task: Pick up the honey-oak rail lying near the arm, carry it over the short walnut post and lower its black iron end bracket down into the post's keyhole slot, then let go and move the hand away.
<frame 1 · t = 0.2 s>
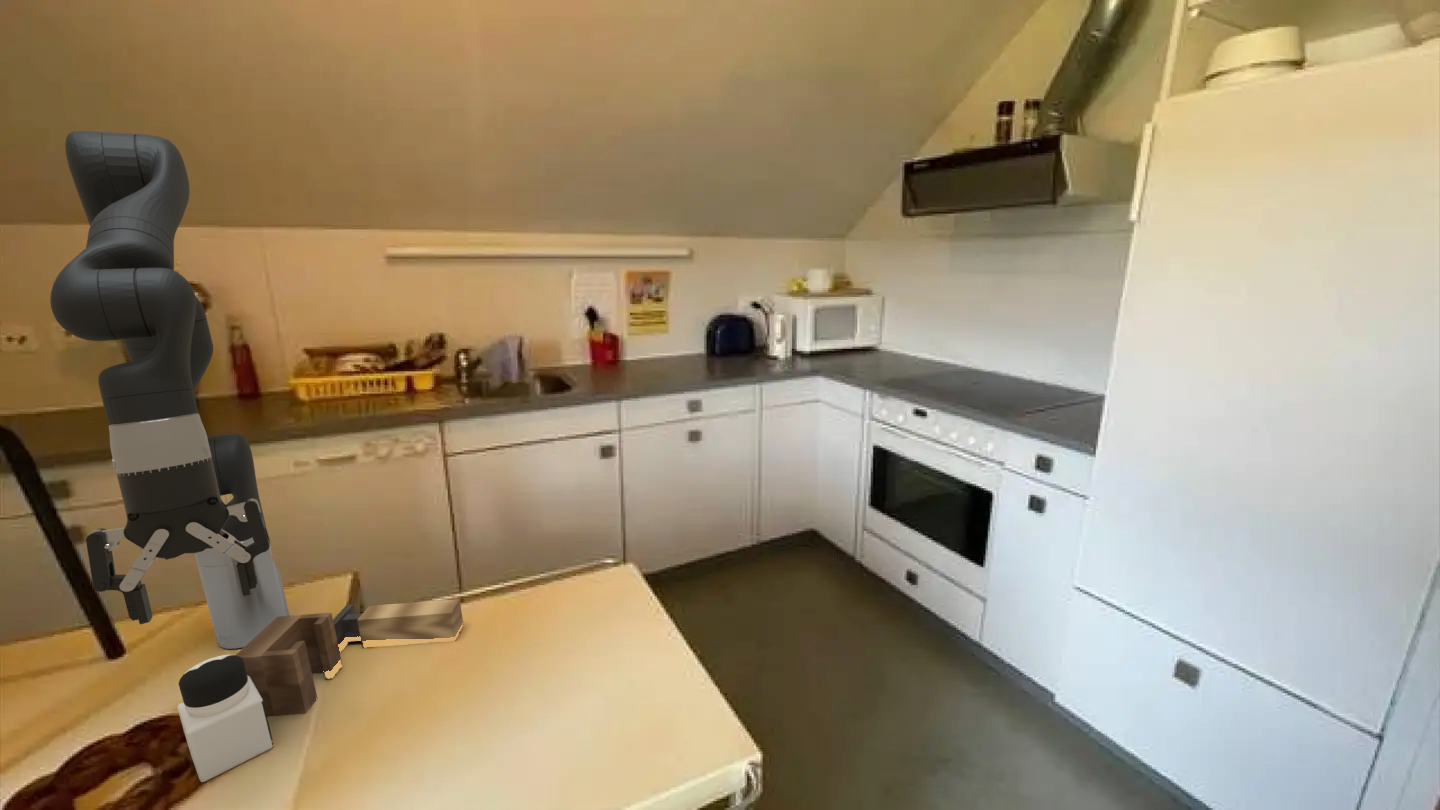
hand: (198, 606, 66), 22 cm above the table, tool pointing down, fingers open, 8 cm apart
medicine bottle: (233, 752, 75), on the table
walnut post: (306, 690, 86), on the table
oak rail: (414, 637, 97), on the table
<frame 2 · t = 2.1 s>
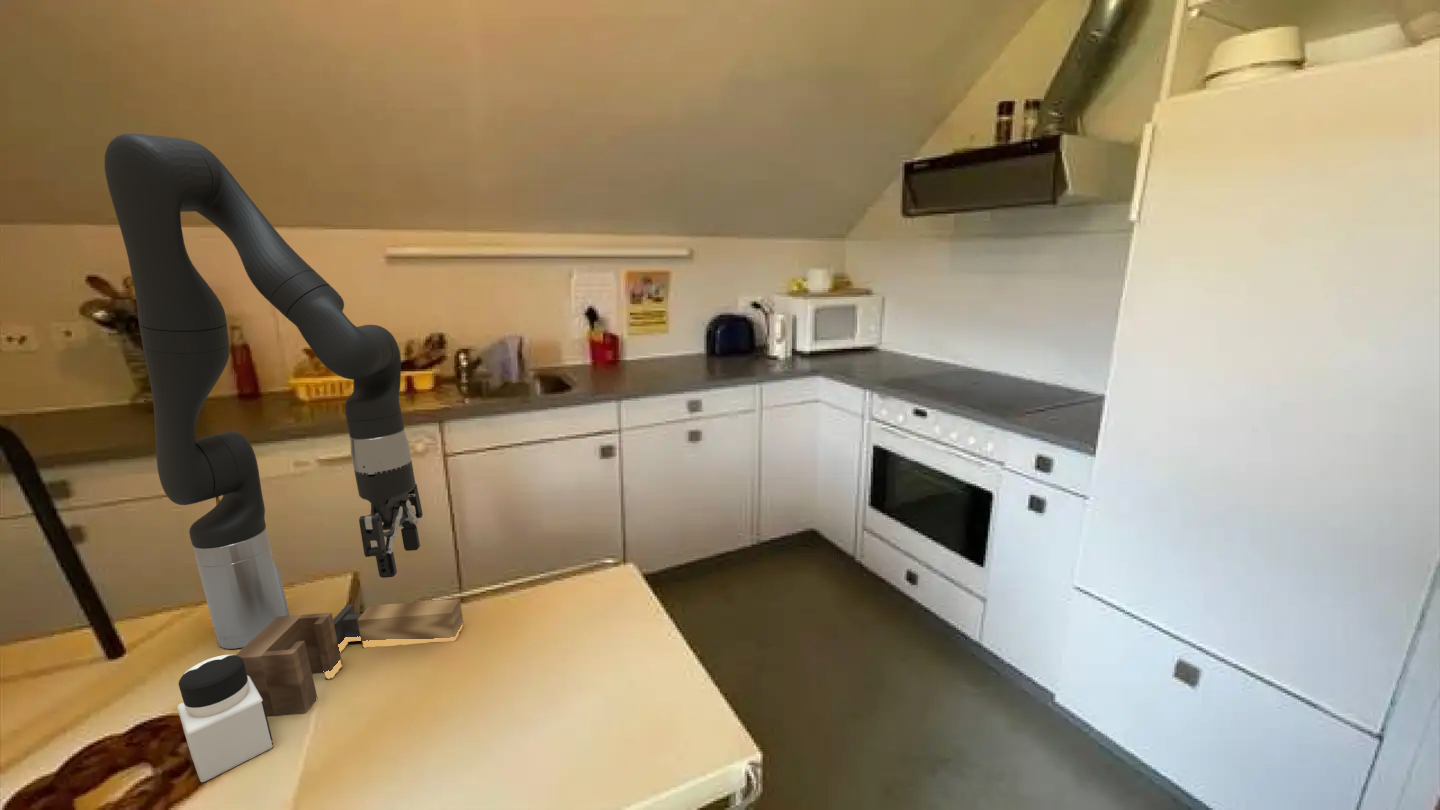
hand: (401, 562, 94), 13 cm above the table, tool pointing down, fingers open, 8 cm apart
nothing on the table moved.
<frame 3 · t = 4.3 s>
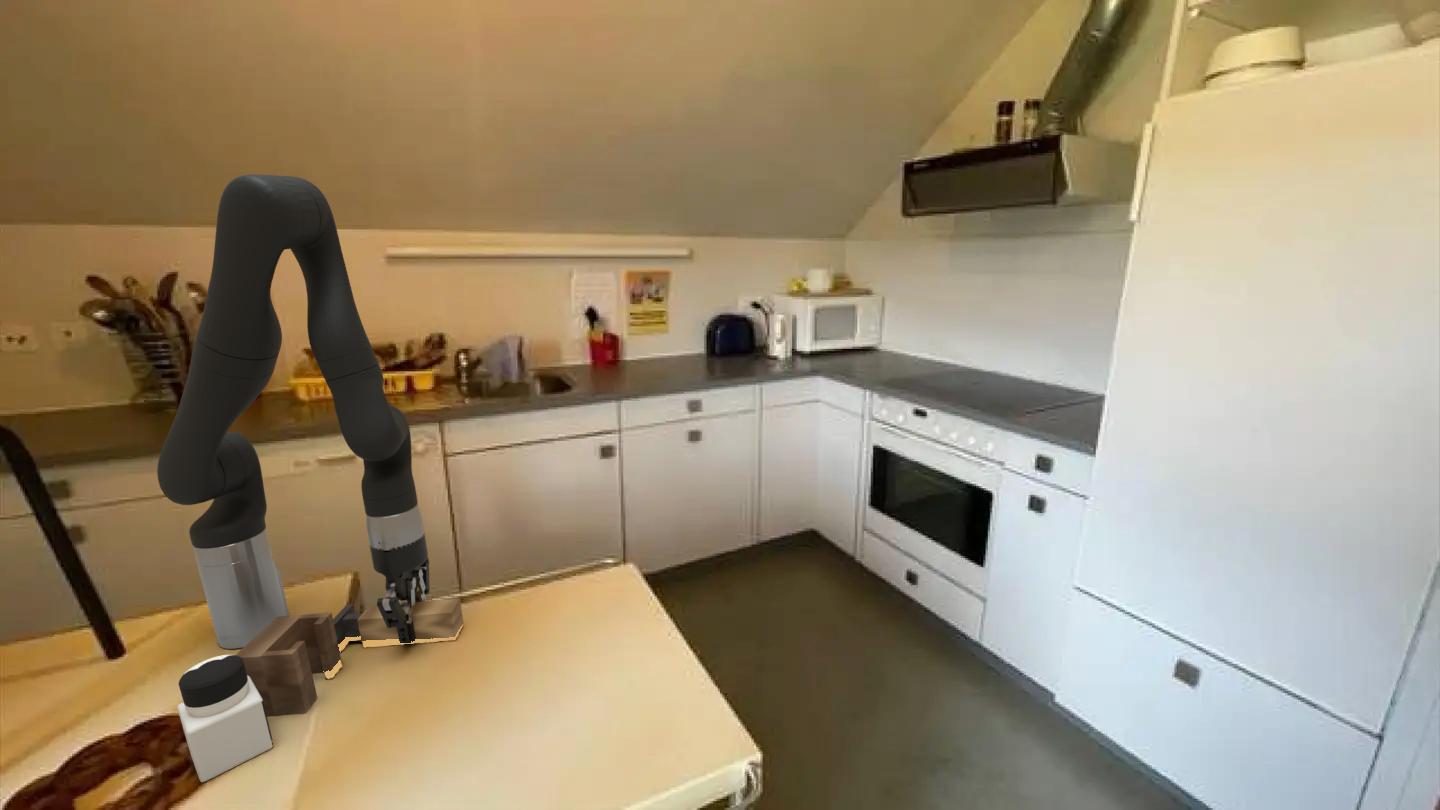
hand: (414, 634, 97), 0 cm above the table, tool pointing down, fingers closed on oak rail, 4 cm apart
oak rail: (414, 636, 97), on the table, touching gripper
everything else where it was.
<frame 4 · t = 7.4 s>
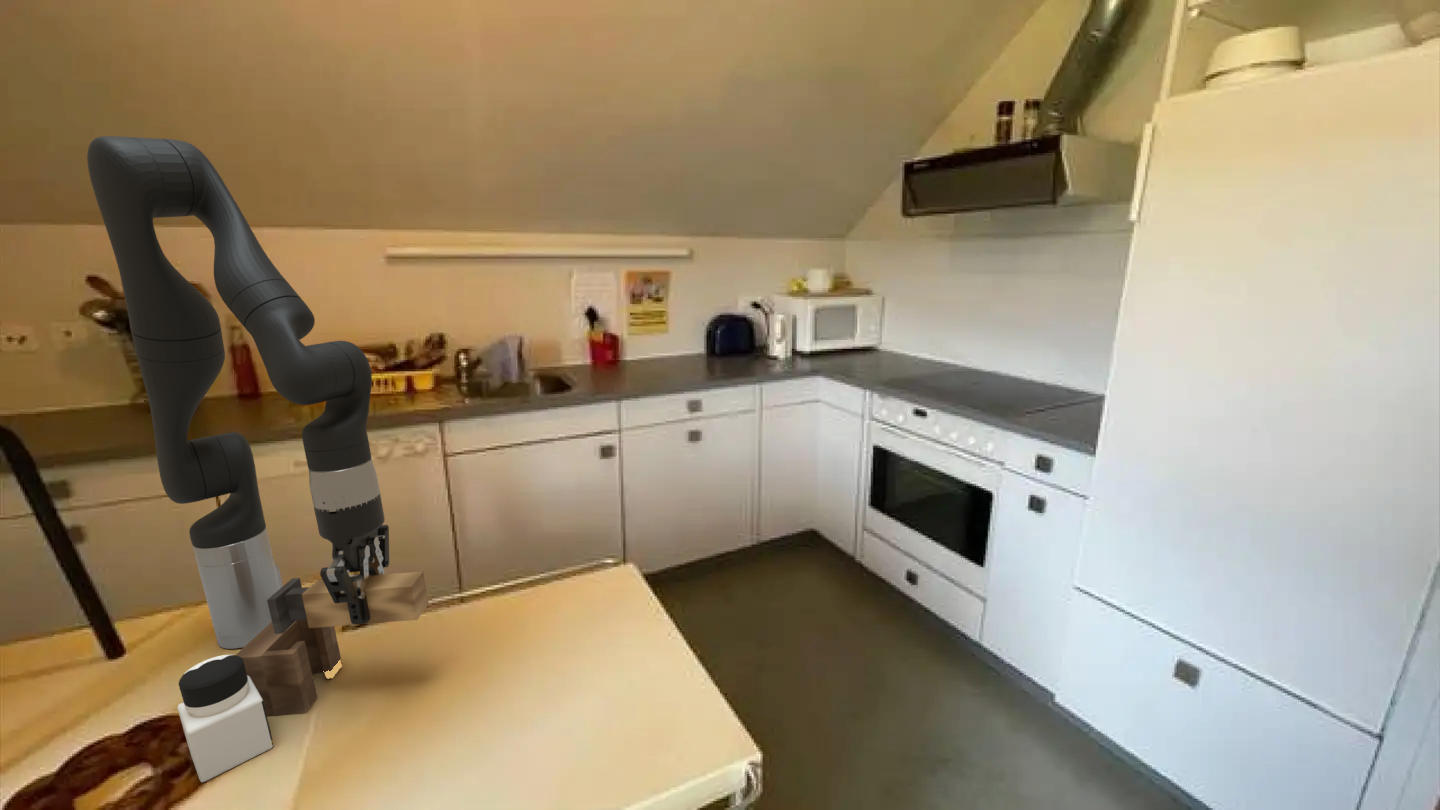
hand: (369, 612, 84), 11 cm above the table, tool pointing down, fingers closed on oak rail, 4 cm apart
oak rail: (370, 615, 84), point 11 cm above the table, touching gripper
everything else where it was.
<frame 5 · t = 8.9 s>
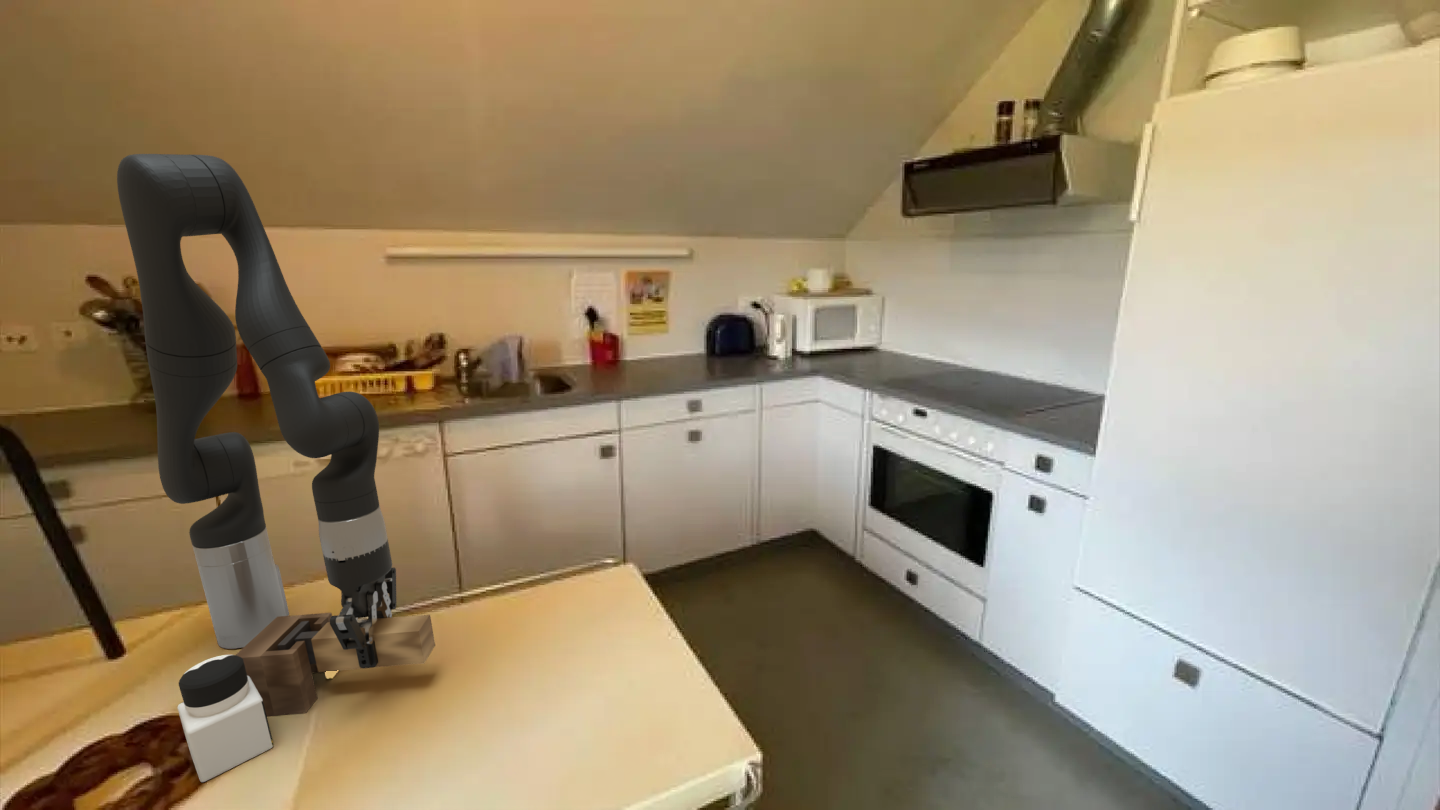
hand: (377, 655, 85), 5 cm above the table, tool pointing down, fingers closed on oak rail, 4 cm apart
oak rail: (378, 658, 85), point 4 cm above the table, touching gripper
everything else where it was.
when the fingers open (2 cm above the table, at t = 10.4 s): oak rail drops 1 cm, on the table.
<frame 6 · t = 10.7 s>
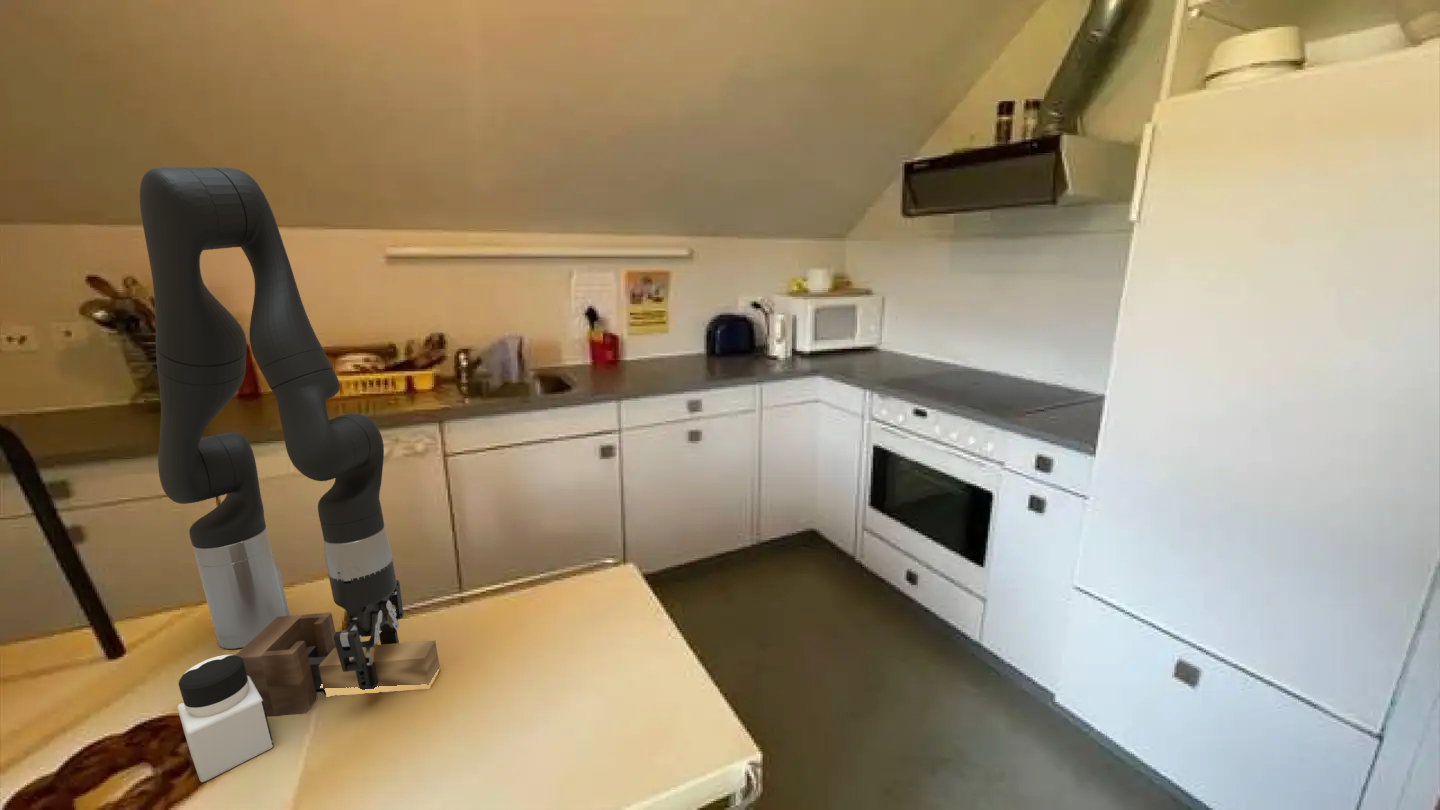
hand: (380, 670, 86), 2 cm above the table, tool pointing down, fingers open, 6 cm apart
oak rail: (384, 683, 86), on the table
everything else where it was.
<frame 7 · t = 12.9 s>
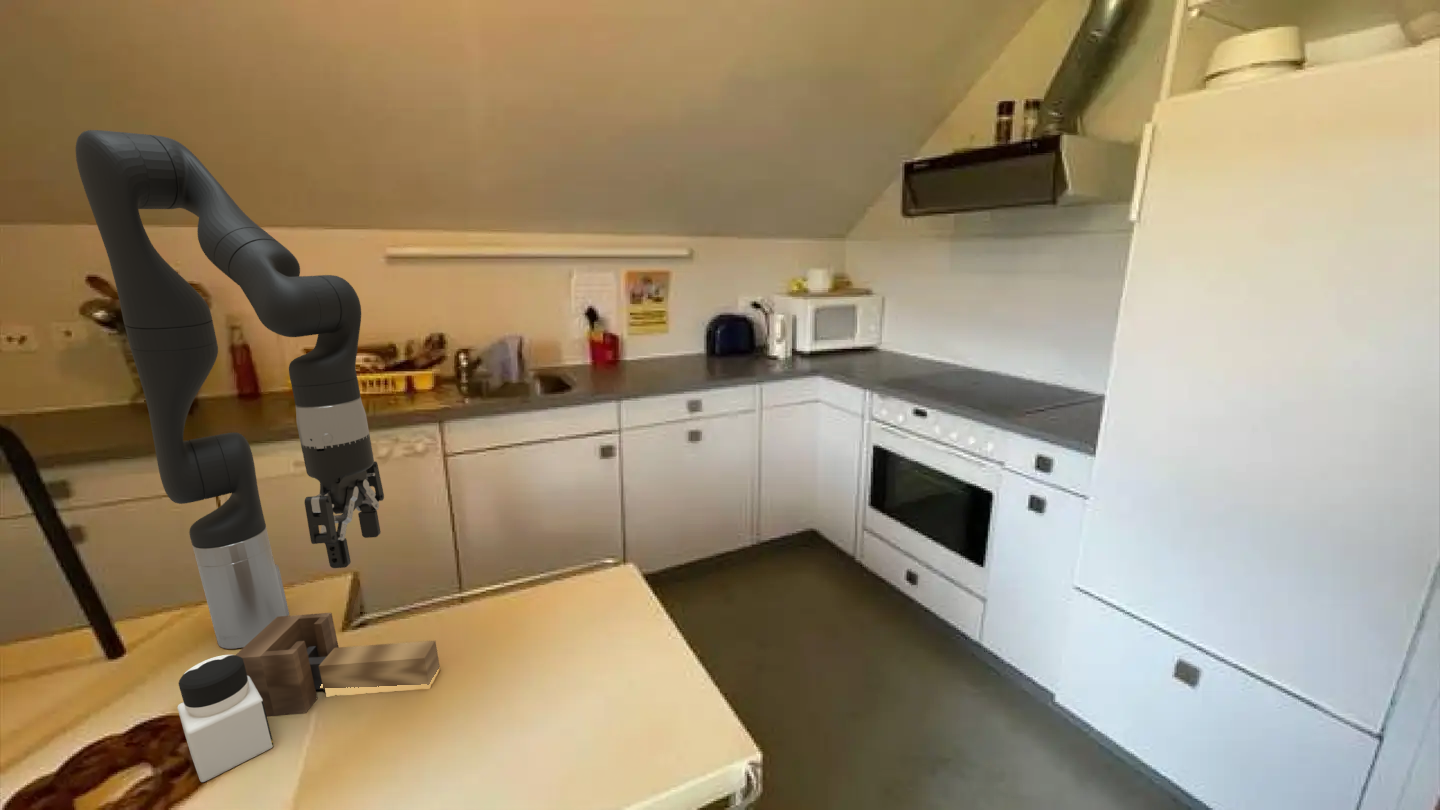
hand: (357, 550, 82), 20 cm above the table, tool pointing down, fingers open, 8 cm apart
nothing on the table moved.
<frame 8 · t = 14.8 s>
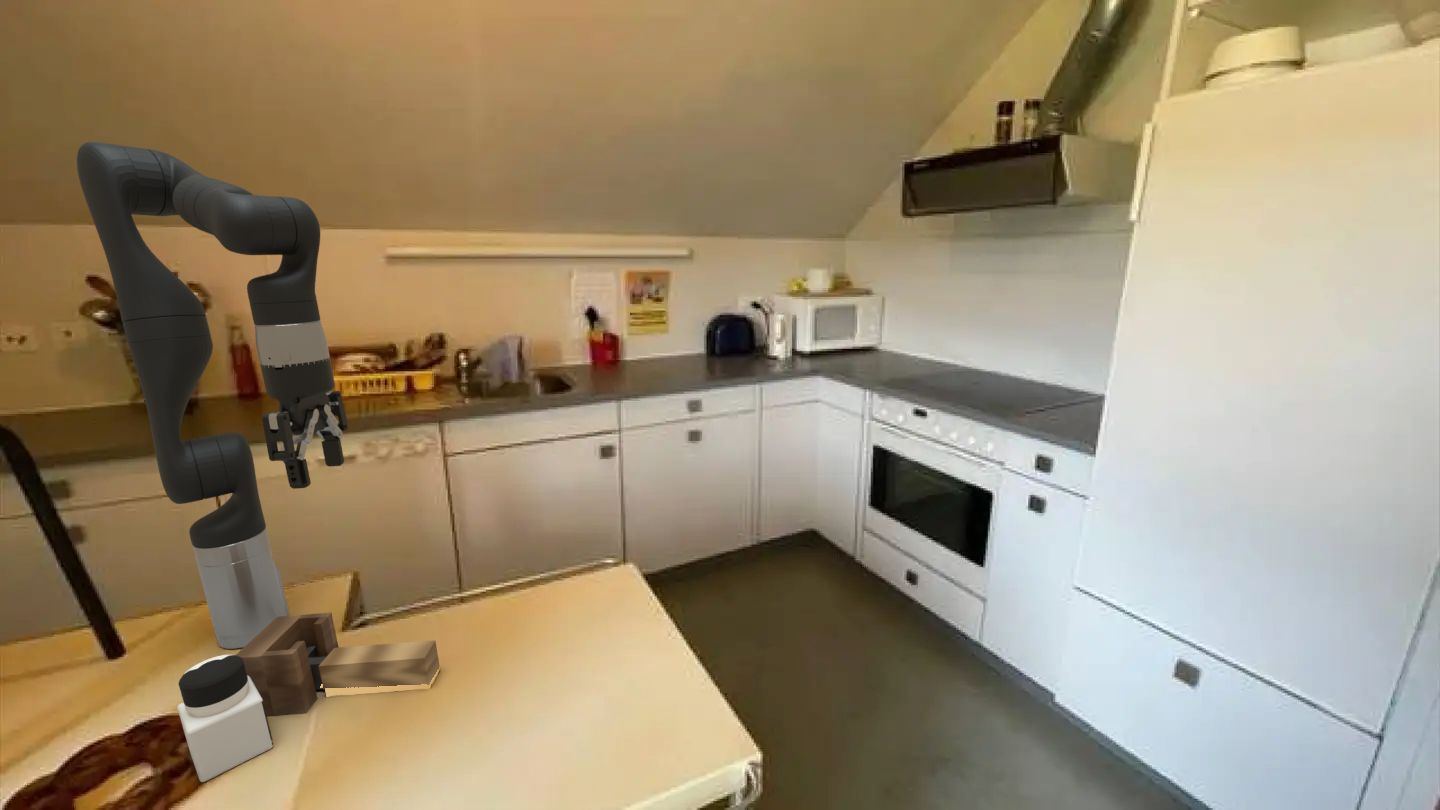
hand: (319, 475, 83), 30 cm above the table, tool pointing down, fingers open, 8 cm apart
nothing on the table moved.
at the end: oak rail 0.1 cm from the target spot on the table beside the walnut post, on the table; oak rail tilted 0°; the gripper is holding nothing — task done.
